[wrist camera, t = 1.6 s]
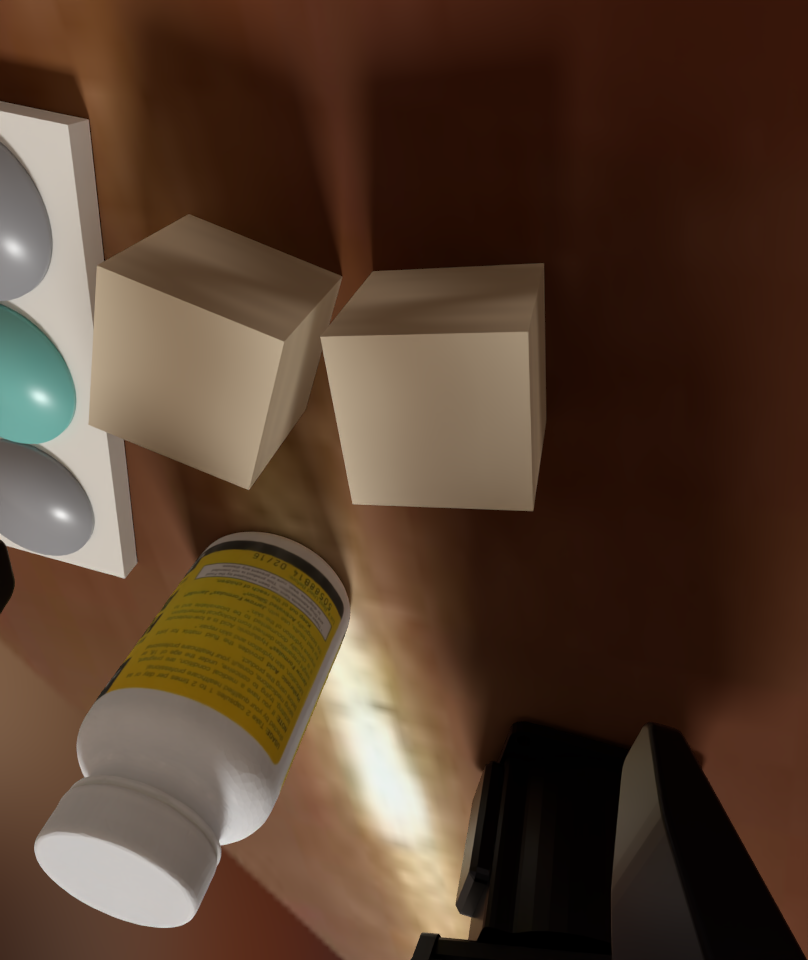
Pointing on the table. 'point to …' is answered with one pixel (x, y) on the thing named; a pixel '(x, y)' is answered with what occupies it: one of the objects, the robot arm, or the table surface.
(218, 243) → the beech block
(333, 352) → the beech block
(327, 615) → the supplement bottle
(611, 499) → the table surface
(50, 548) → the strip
